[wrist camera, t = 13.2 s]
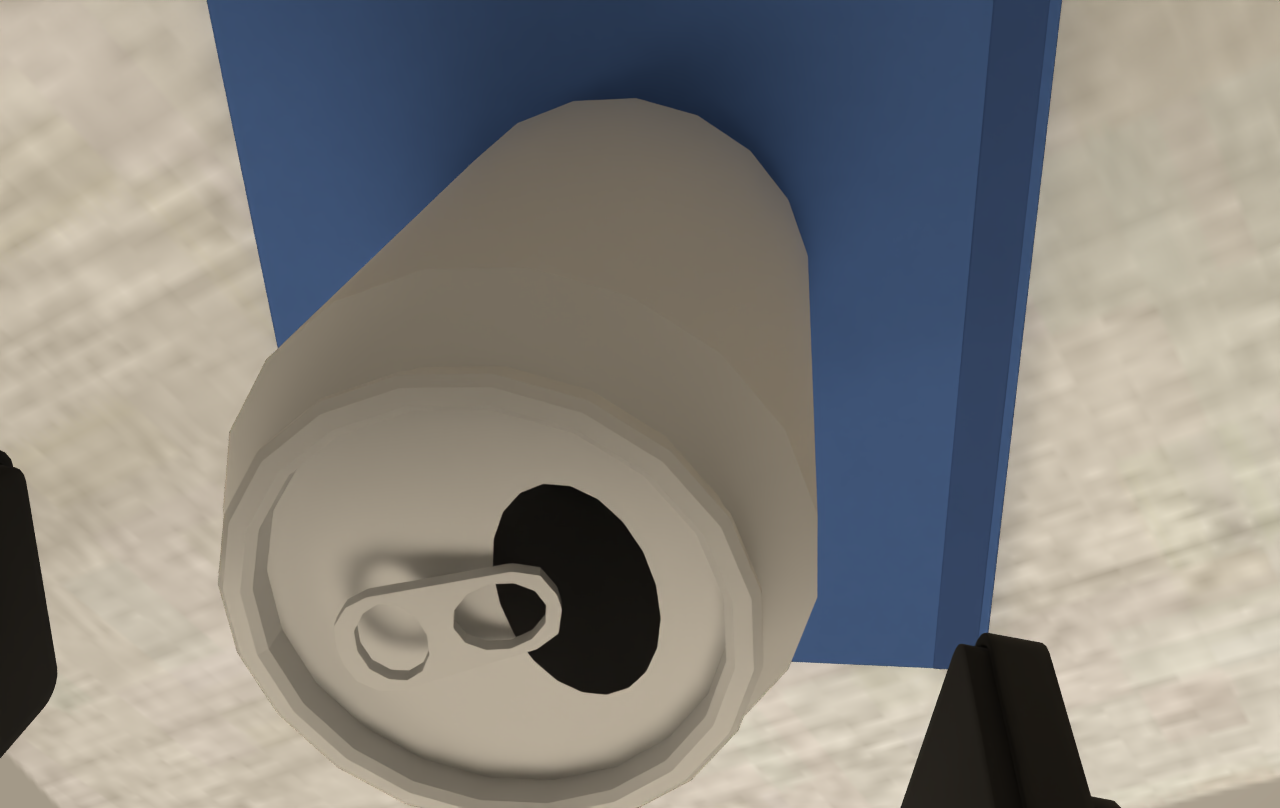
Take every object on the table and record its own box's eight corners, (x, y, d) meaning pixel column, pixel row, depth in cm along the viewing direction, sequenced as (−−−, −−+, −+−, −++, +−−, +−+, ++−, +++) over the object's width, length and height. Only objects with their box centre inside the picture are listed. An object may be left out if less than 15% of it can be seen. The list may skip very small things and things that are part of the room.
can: (835, 407, 24) (871, 863, 13) (504, 455, 25) (291, 899, 14) (774, 50, 21) (755, 260, 10) (401, 130, 22) (36, 387, 11)
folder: (161, -270, 20) (149, -272, 19) (1096, -334, 18) (1102, -339, 17) (342, 631, 29) (336, 642, 28) (981, 660, 26) (984, 671, 26)
